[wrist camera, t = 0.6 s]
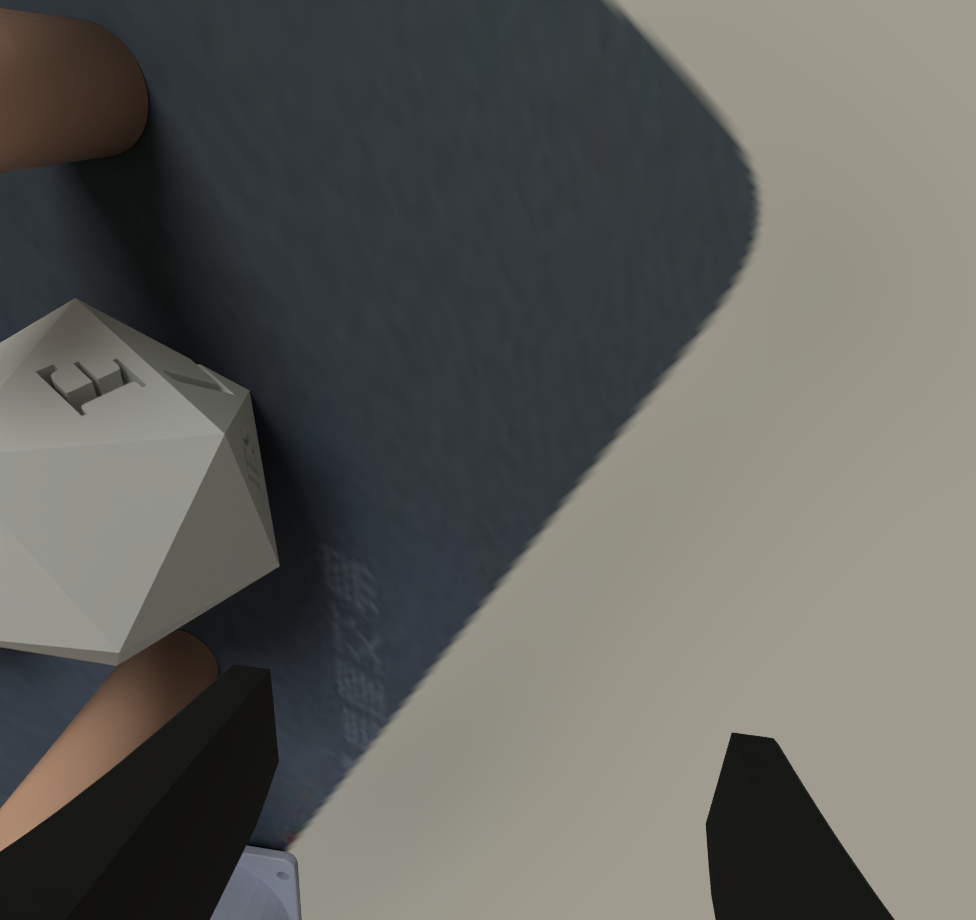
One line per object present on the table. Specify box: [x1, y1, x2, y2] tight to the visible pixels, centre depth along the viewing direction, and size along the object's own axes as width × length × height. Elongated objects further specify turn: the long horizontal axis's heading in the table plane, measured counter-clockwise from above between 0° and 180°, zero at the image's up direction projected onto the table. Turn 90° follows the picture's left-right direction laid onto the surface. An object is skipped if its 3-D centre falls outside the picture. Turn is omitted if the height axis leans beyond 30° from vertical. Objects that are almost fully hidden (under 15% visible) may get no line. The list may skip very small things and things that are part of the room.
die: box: [0, 298, 280, 666], centre depth 19 cm, size 8×9×10 cm
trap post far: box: [0, 629, 218, 851], centre depth 22 cm, size 3×3×10 cm
